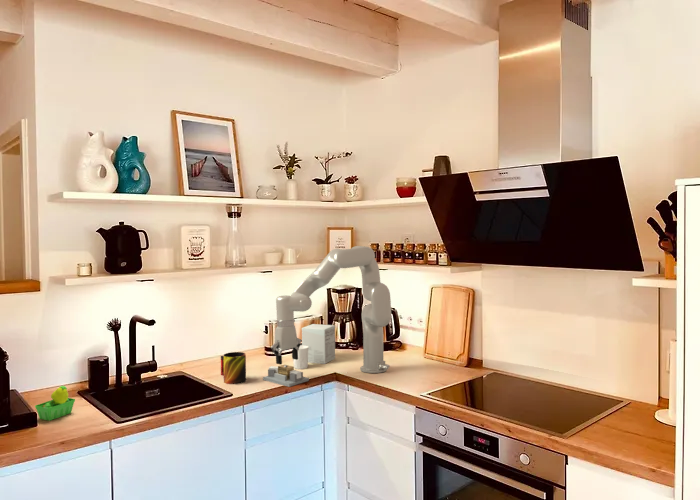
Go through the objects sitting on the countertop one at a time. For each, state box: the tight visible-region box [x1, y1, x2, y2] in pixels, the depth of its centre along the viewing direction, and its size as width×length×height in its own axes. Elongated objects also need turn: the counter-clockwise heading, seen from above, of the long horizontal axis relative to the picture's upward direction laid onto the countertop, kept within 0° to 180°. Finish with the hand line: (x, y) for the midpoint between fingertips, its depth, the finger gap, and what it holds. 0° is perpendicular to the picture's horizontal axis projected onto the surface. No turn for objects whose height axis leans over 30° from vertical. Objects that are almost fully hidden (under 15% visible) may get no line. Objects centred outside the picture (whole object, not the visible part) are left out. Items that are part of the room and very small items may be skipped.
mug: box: [220, 351, 247, 385], centre depth 237 cm, size 10×14×12 cm
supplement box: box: [301, 323, 336, 365], centre depth 274 cm, size 13×13×18 cm
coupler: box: [277, 364, 295, 380], centre depth 237 cm, size 6×4×5 cm, turn 50°
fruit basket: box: [34, 385, 76, 422], centre depth 193 cm, size 11×9×11 cm
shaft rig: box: [262, 365, 310, 388], centre depth 238 cm, size 18×12×5 cm
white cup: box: [292, 344, 309, 370], centre depth 260 cm, size 8×8×10 cm
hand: (287, 361), depth 237 cm, fingers open, 9 cm apart
